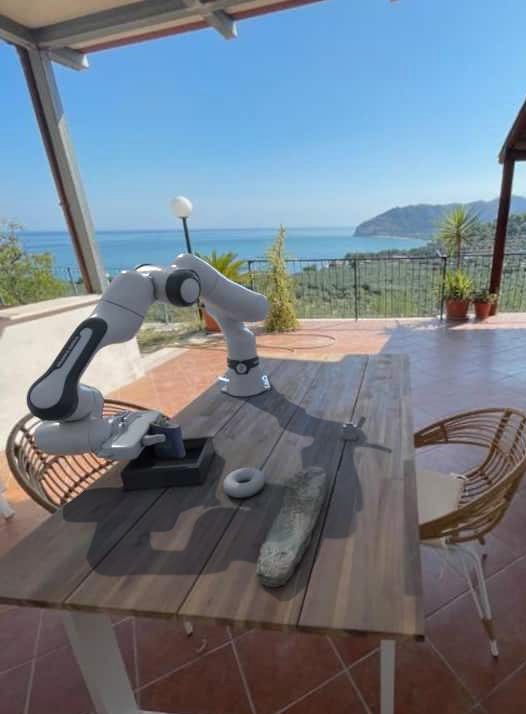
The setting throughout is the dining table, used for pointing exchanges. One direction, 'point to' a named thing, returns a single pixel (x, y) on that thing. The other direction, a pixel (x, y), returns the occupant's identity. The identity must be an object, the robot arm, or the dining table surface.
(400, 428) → the dining table surface
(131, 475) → the tray
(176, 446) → the flask
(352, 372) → the dining table surface
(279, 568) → the elongated rock
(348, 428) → the lighter
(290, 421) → the dining table surface
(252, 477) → the donut
